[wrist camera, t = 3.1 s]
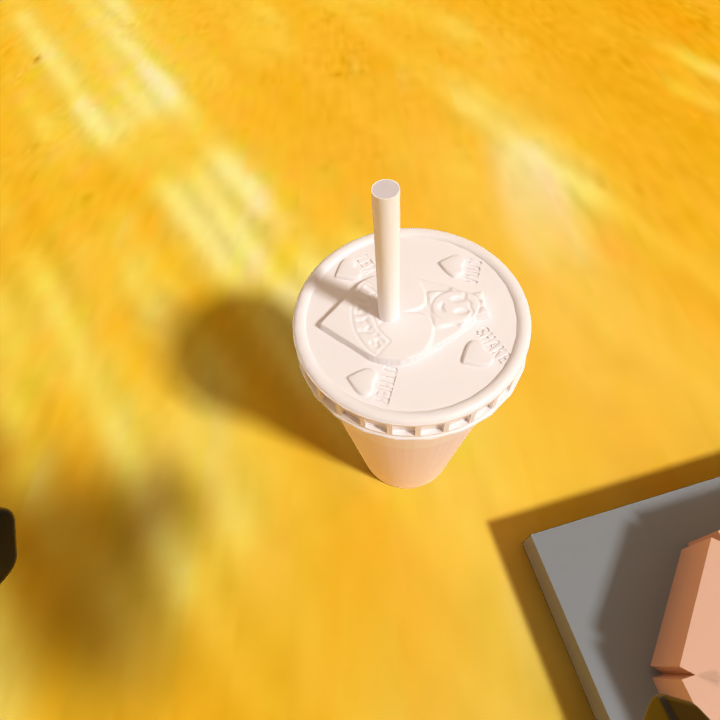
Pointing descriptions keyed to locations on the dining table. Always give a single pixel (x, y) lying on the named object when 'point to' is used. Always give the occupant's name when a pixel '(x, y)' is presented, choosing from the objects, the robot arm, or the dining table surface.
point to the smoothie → (410, 341)
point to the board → (639, 600)
